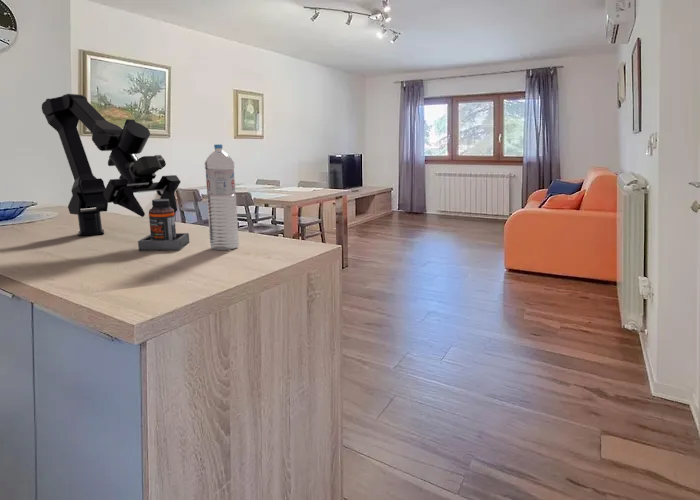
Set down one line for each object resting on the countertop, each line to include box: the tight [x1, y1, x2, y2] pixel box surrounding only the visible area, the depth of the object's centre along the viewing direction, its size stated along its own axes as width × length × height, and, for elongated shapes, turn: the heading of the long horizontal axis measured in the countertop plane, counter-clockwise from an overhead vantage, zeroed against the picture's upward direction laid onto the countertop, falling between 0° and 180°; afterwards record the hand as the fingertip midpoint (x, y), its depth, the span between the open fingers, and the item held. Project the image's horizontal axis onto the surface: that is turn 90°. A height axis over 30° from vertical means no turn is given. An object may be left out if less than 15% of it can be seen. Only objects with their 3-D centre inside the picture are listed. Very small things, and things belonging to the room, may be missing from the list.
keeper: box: [137, 232, 190, 252], centre depth 121 cm, size 10×10×2 cm
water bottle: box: [204, 143, 240, 251], centre depth 117 cm, size 7×7×25 cm
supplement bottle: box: [148, 198, 177, 240], centre depth 120 cm, size 6×6×11 cm
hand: (160, 213), depth 120 cm, fingers open, 9 cm apart
